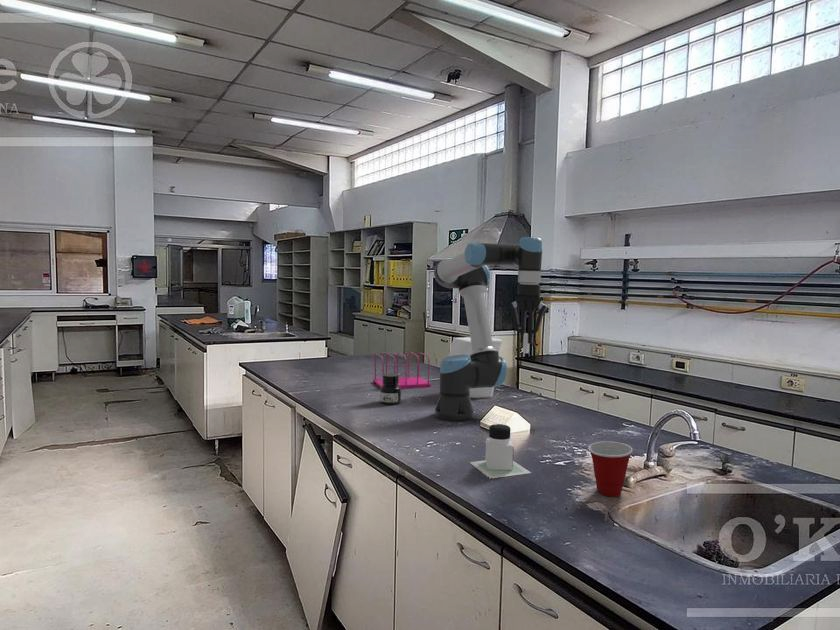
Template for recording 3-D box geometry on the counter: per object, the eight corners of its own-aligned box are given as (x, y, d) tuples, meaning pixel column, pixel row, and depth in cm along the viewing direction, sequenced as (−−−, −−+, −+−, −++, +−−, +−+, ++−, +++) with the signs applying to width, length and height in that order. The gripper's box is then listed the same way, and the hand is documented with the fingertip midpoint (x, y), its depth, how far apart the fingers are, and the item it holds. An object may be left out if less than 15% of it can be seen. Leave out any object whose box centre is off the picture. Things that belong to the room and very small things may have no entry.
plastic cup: (579, 484, 142) (581, 440, 141) (618, 483, 143) (620, 439, 142) (596, 501, 132) (598, 454, 131) (638, 500, 133) (640, 453, 132)
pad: (489, 478, 145) (490, 478, 145) (469, 462, 158) (469, 462, 158) (531, 473, 150) (531, 472, 150) (508, 457, 162) (508, 457, 162)
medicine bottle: (513, 470, 151) (514, 429, 150) (487, 470, 151) (488, 428, 150) (509, 461, 158) (510, 422, 157) (485, 461, 158) (486, 421, 158)
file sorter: (372, 382, 270) (373, 351, 269) (419, 380, 278) (420, 350, 277) (381, 390, 254) (381, 357, 252) (431, 387, 261) (431, 355, 260)
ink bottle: (375, 403, 226) (375, 375, 225) (384, 399, 235) (385, 372, 234) (396, 406, 223) (396, 377, 222) (405, 401, 231) (405, 374, 230)
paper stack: (505, 397, 241) (506, 340, 239) (448, 400, 234) (449, 342, 232) (487, 387, 261) (488, 335, 259) (434, 390, 254) (435, 336, 252)
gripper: (550, 284, 181) (547, 352, 183) (513, 282, 186) (510, 349, 189) (546, 284, 174) (542, 356, 177) (507, 283, 180) (504, 352, 182)
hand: (525, 352), depth 183 cm, fingers closed
